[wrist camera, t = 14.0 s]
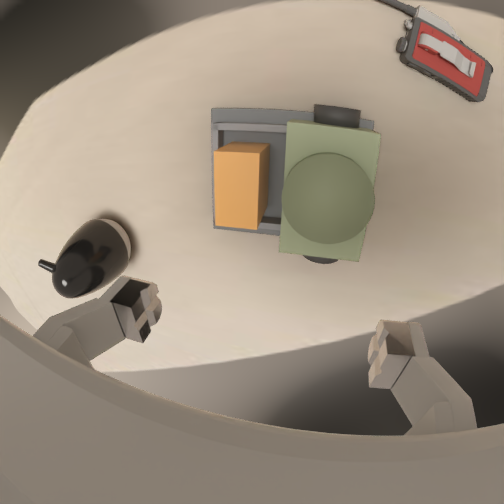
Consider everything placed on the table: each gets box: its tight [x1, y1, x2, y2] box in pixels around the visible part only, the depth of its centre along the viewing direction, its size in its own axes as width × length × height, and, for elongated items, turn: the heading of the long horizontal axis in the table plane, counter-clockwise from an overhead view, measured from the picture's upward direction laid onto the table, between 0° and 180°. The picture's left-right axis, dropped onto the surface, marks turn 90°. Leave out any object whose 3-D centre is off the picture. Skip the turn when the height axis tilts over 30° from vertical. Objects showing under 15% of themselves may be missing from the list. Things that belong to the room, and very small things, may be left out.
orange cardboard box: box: [214, 142, 270, 230], centre depth 31 cm, size 4×8×7 cm, turn 179°
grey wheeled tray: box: [211, 104, 381, 264], centre depth 31 cm, size 19×18×9 cm
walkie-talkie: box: [380, 0, 493, 102], centre depth 20 cm, size 9×4×20 cm
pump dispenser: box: [38, 219, 131, 298], centre depth 38 cm, size 10×10×15 cm
